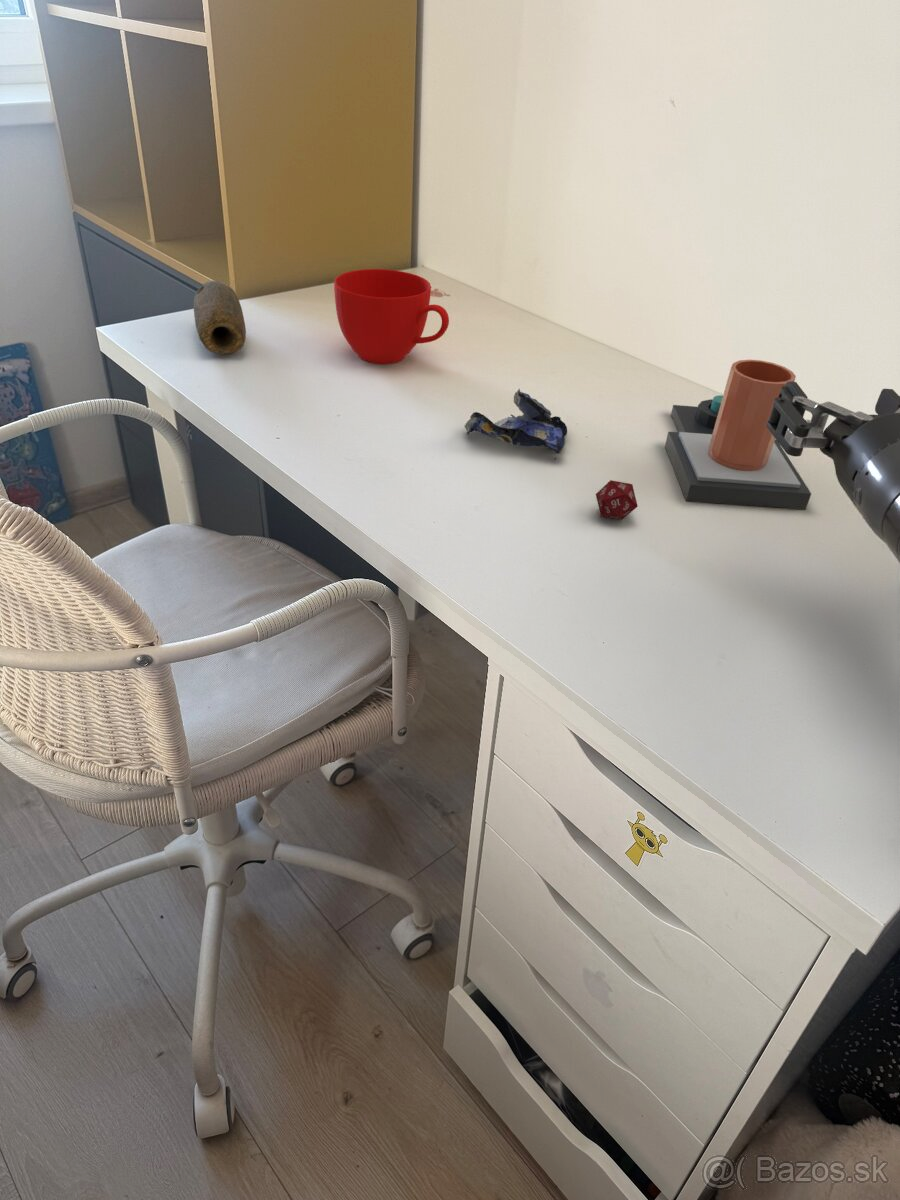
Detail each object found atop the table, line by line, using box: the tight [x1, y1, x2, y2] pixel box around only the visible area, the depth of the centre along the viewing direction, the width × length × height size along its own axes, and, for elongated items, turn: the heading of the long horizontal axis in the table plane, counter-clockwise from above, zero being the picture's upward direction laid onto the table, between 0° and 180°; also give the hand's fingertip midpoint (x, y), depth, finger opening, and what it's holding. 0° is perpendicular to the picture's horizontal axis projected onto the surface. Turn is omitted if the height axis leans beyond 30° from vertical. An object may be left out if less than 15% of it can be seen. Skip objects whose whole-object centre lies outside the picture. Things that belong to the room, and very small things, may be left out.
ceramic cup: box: [333, 268, 450, 365], centre depth 113 cm, size 13×17×10 cm
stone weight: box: [193, 280, 247, 355], centre depth 115 cm, size 15×7×7 cm, turn 20°
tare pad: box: [670, 398, 718, 434], centre depth 103 cm, size 10×8×3 cm
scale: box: [664, 431, 812, 510], centre depth 94 cm, size 13×13×2 cm
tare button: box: [710, 394, 723, 413], centre depth 102 cm, size 3×3×2 cm
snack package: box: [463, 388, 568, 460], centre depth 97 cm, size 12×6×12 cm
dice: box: [595, 479, 639, 521], centre depth 84 cm, size 4×4×4 cm
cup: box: [708, 359, 797, 471], centre depth 90 cm, size 6×6×10 cm
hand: (834, 395), depth 74 cm, fingers open, 8 cm apart
